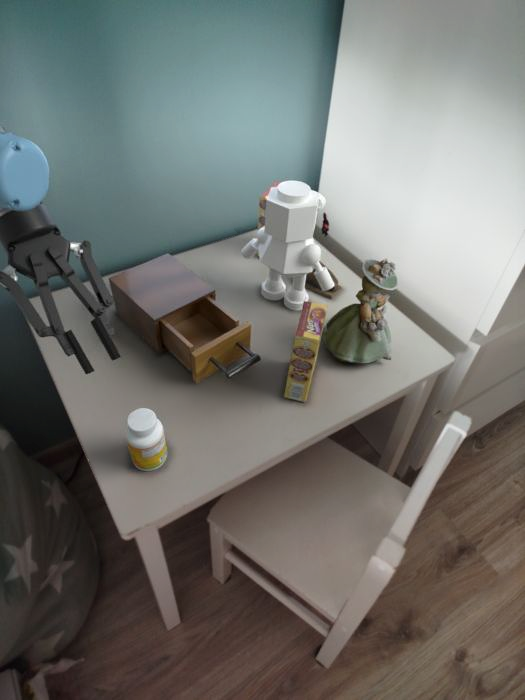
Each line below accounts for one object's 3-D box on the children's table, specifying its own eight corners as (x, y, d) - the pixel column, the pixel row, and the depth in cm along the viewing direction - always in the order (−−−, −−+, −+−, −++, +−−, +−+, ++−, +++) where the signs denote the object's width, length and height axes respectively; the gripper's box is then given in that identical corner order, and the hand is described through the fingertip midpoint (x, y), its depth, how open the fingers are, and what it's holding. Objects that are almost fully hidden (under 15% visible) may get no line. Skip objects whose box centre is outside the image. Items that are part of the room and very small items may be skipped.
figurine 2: (277, 275, 106) (280, 242, 100) (288, 266, 109) (291, 234, 102) (331, 299, 101) (338, 266, 95) (341, 289, 103) (348, 256, 97)
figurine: (369, 390, 83) (398, 304, 69) (304, 353, 89) (318, 267, 74) (403, 346, 92) (435, 262, 77) (342, 315, 97) (361, 231, 83)
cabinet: (216, 323, 94) (215, 289, 87) (159, 354, 87) (154, 320, 81) (171, 286, 101) (167, 252, 95) (116, 312, 94) (108, 277, 88)
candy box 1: (271, 261, 110) (276, 201, 99) (255, 256, 111) (258, 196, 100) (286, 243, 115) (292, 184, 104) (271, 238, 117) (275, 180, 106)
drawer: (270, 368, 84) (273, 341, 80) (217, 403, 78) (216, 376, 73) (202, 312, 94) (201, 285, 90) (150, 339, 88) (146, 312, 83)
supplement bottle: (128, 448, 72) (117, 410, 65) (161, 437, 74) (155, 399, 67) (137, 477, 69) (126, 440, 62) (172, 464, 71) (165, 427, 64)
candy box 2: (307, 403, 80) (320, 341, 69) (283, 398, 81) (292, 335, 70) (315, 367, 86) (328, 304, 76) (292, 362, 87) (302, 299, 76)
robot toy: (340, 302, 100) (364, 194, 82) (315, 332, 93) (336, 220, 75) (255, 267, 108) (260, 160, 90) (227, 292, 101) (226, 182, 83)
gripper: (-49, 224, 56) (51, 394, 59) (79, 186, 64) (160, 336, 68) (-46, 243, 62) (44, 395, 66) (71, 206, 70) (145, 343, 74)
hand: (103, 365), depth 67 cm, fingers open, 3 cm apart
